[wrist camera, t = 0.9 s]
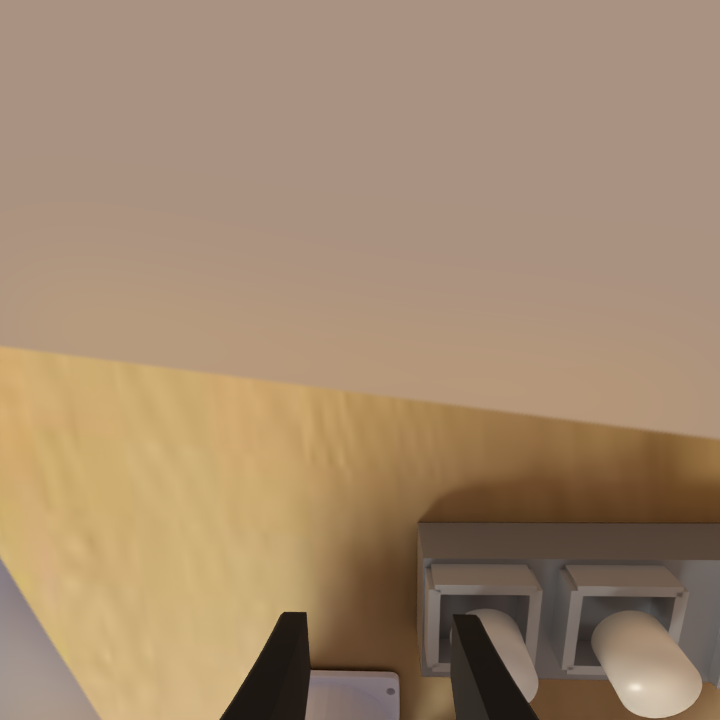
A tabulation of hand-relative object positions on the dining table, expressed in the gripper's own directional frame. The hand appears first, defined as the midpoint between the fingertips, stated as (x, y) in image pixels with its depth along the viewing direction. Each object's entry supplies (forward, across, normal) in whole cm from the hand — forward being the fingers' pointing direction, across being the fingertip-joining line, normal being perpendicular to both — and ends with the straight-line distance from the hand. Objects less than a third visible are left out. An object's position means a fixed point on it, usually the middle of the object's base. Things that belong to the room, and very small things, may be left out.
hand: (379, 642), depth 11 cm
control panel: (+9, -12, +7) cm, 16 cm away
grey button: (+5, -4, +6) cm, 9 cm away
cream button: (+5, -10, +6) cm, 13 cm away
